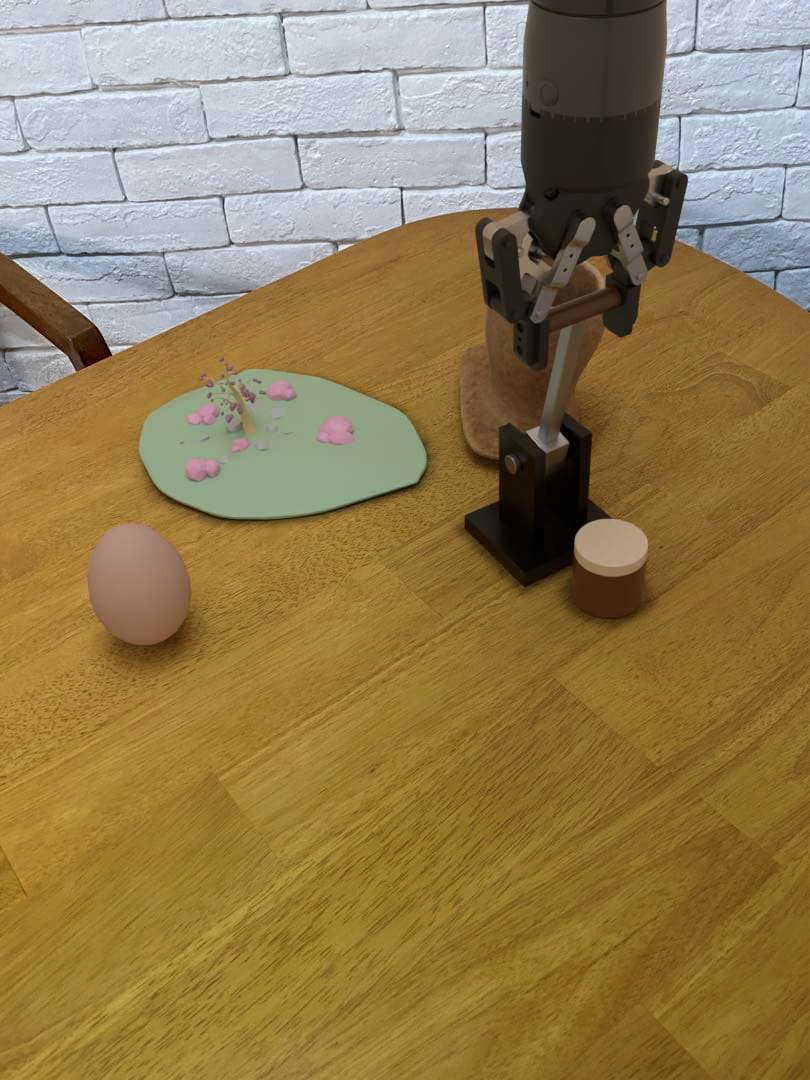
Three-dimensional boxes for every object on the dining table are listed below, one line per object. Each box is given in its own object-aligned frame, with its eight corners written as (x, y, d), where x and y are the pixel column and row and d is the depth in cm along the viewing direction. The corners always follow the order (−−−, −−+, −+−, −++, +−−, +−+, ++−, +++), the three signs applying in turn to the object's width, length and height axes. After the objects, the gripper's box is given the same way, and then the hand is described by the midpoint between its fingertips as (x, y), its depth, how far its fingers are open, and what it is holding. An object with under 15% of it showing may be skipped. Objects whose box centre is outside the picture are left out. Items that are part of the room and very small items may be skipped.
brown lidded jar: (657, 600, 80) (663, 547, 77) (601, 628, 78) (605, 576, 75) (612, 561, 83) (617, 509, 80) (557, 587, 82) (559, 535, 78)
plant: (442, 379, 103) (438, 290, 97) (417, 526, 88) (411, 432, 82) (177, 375, 106) (158, 289, 100) (109, 517, 91) (81, 425, 85)
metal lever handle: (628, 298, 70) (605, 276, 72) (550, 328, 68) (528, 304, 70) (584, 459, 82) (565, 438, 84) (516, 489, 80) (498, 466, 82)
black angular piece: (622, 540, 85) (631, 435, 79) (524, 587, 82) (526, 481, 75) (558, 486, 90) (562, 383, 84) (464, 528, 87) (460, 424, 81)
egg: (111, 605, 83) (78, 503, 77) (203, 595, 83) (178, 493, 77) (100, 674, 78) (64, 571, 72) (199, 663, 78) (171, 559, 72)
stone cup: (607, 470, 92) (619, 306, 82) (460, 474, 92) (455, 312, 82) (589, 368, 103) (598, 213, 93) (459, 372, 104) (454, 219, 94)
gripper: (650, 35, 66) (626, 289, 77) (442, 94, 61) (448, 357, 72) (741, 73, 61) (700, 338, 72) (522, 140, 56) (516, 414, 67)
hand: (575, 346), depth 72 cm, fingers closed on metal lever handle, 6 cm apart
